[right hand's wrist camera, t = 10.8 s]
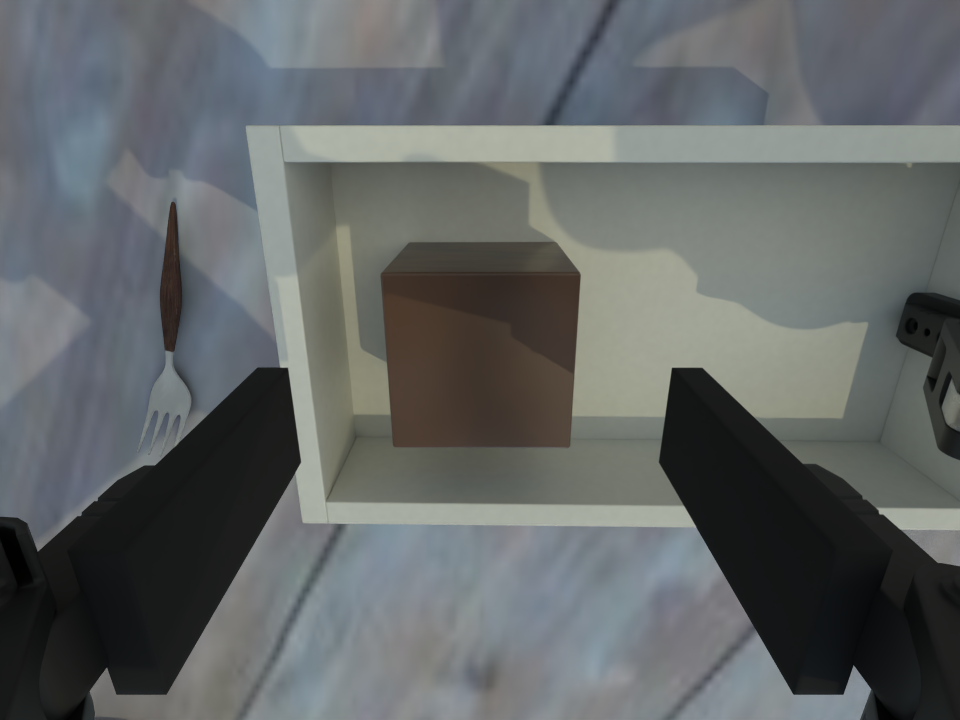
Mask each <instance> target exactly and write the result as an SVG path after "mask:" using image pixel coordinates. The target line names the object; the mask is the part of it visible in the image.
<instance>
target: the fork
mask: <svg viewBox="0 0 960 720" xmlns="http://www.w3.org/2000/svg"><path fill="white" fill-rule="evenodd" d="M181 305H182V288H181V275H180V264H179V249H178V228H177V213H176V205H175V203H174V202H172V203H171V206H170V212H169V220H168V228H167V237H166V247H165V256H164V263H163V271H162V278H161V288H160V307H161V318H162V328H163V336H164V345H165V356H166V364H165V368H164V370H163V372H162V373H161V375H160V376H159V378H158V379H157V380H156V382H155V383H154V385H153V388H152V390H151V394H150V399H149V405H148V411H147V416H146V420H145V424H144V427H143V431H142V435H141V439H140V443H139V446H138V449H137V453H138V452H139V450H140V448H141V445H142V443H143V440H144V438H145V435H146V432H147V430H148V427H149V424H150V422H151V419H152V416H153V414H154V412H155V411H156V410H157V411H158V418H157V423H156V427H155V431H154V434H153V438H152V442H151V446H150V449H149V453H148V455H150V453H151V450H152V448H153V445H154V443H155V440H156V438H157V435H158V432H159V430H160V427H161V424H162V421H163V419H164V416H165V414H166V413H169V421H168V426H167V430H166V434H165V437H164V441H163V445H162V449H161V453H160V456H159V457H161V456H162V453H163V451H164V448H165V446H166V443H167V440H168V438H169V435H170V432H171V430H172V427H173V424H174V421H175V419H176V417H177V416H178V415H180V424H179V428H178V432H177V436H176V440H175V444H174V447H175V446H176V445H177V444H178V443H179V440H180V438H181V435H182V432H183V429H184V426H185V423H186V420H187V417H188V414H189V411H190V408H191V395H190V392H189V390H188V388H187V386H186V385H185V383H184V382H183V381H182V379H181V378H180V377H179V375H178V374H177V372H176V370H175V368H174V365H173V357H174V350H175V344H176V338H177V332H178V326H179V320H180V314H181Z"/></svg>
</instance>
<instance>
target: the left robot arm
mask: <svg viewBox="0 0 960 720" xmlns="http://www.w3.org/2000/svg"><path fill="white" fill-rule="evenodd" d="M896 337H897V338H898V340H899V341H900V343H901V344H903V345H905V346H907V347H910V348H912V349H914V350H916V351H918V352H921V353H923V354H925V355H927V356H930V357H932V361H931V364H930V367H929V370H928V373H927V376H926V379H925V382H924V385H923V391H924V395H925V399H926V403H927V407H928V411H929V415H930V419H931V423H932V427H933V431H934V436H935V440H936V444H937V447H938V449H939V450H940V451H941V452H943V453H944V454H946V455H948V456H950V457H952V458H955V459H957V460H960V300H957V299H954V298H951V297H948V296H944V295H941V294H938V293H934V292H916V293H912V294H911V295H910V296H909V297H908V298H907V301H906V303H905V306H904V309H903V313H902V316H901V320H900V323H899V326H898V330H897V333H896Z"/></svg>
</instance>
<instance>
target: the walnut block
mask: <svg viewBox="0 0 960 720" xmlns="http://www.w3.org/2000/svg"><path fill="white" fill-rule="evenodd" d="M380 276H381V290H382V303H383V317H384V330H385V344H386V358H387V371H388V385H389V399H390V412H391V426H392V440H393V446H394V447H395V448H569V447H570V439H571V423H572V407H573V392H574V376H575V360H576V344H577V328H578V313H579V297H580V281H581V274H580V272H579V271H578V269H577V268H576V267H575V265H574V264H573V263H572V262H571V260H570V259H569V258H568V256H567V255H566V254H565V252H564V251H563V250H562V249H561V247H560V246H559V245H558V243H557V242H410V243H408V244H407V245H406V246H405V247H404V249H403V250H402V251H401V252H400V253H399V254H398V255H397V256H396V257H395V258H394V260H393V261H392V262H391V263H390V264H389V265H388V266H387V267H386V268H385V269H384V271H383V272H382V273H381V275H380Z"/></svg>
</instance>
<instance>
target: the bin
mask: <svg viewBox="0 0 960 720" xmlns="http://www.w3.org/2000/svg"><path fill="white" fill-rule="evenodd" d="M246 134H247V141H248V148H249V155H250V162H251V169H252V176H253V183H254V190H255V197H256V204H257V211H258V218H259V224H260V231H261V238H262V245H263V252H264V259H265V266H266V273H267V280H268V287H269V294H270V301H271V308H272V314H273V321H274V328H275V335H276V342H277V349H278V356H279V363H280V368H288V370H289V378H290V385H291V392H292V399H293V406H294V414H295V421H296V428H297V435H298V442H299V449H300V457H301V464H300V465H299V467H298V469H297V471H296V472H295V474H296V481H297V488H298V494H299V501H300V508H301V515H302V522H303V523H337V524H431V525H526V526H620V527H696V526H695V524H694V522H693V521H692V519H691V517H690V515H689V514H688V512H687V510H686V509H685V507H684V505H683V503H682V502H681V500H680V498H679V496H678V495H677V493H676V491H675V490H674V488H673V486H672V484H671V483H670V481H669V479H668V478H667V476H666V474H665V472H664V471H663V469H662V467H661V465H660V464H659V457H660V449H661V442H662V435H663V428H664V421H665V413H666V406H667V399H668V392H669V385H670V378H671V370H672V368H703V369H704V370H705V371H706V372H707V373H709V374H710V375H711V376H712V377H713V378H714V379H715V380H716V381H717V382H718V383H719V384H720V385H721V386H722V387H723V388H724V389H725V390H726V391H727V392H728V393H729V394H730V395H731V396H733V397H734V398H735V399H736V400H737V401H738V402H739V403H740V404H741V405H742V406H743V407H744V408H745V409H746V410H747V411H748V412H749V413H750V414H751V415H752V416H753V417H754V418H756V419H757V420H758V421H759V422H760V423H761V424H762V425H763V426H764V427H765V428H766V429H767V430H768V431H769V432H770V433H771V434H772V435H773V436H774V437H775V438H776V439H777V440H779V441H780V442H781V443H782V444H783V445H784V446H785V447H786V448H787V449H788V450H789V451H790V452H791V453H792V454H793V455H794V456H795V457H796V458H797V459H798V460H799V461H800V462H802V463H803V464H817V465H819V466H821V467H823V468H825V469H826V470H828V471H830V472H832V473H834V474H836V475H837V476H839V477H841V478H843V479H844V480H845V481H846V482H847V483H849V484H850V485H851V486H852V487H853V488H854V489H855V490H856V491H858V492H859V493H860V494H861V495H862V498H863V499H866V500H868V501H869V502H870V503H871V504H872V505H873V506H874V507H875V508H877V509H878V510H879V514H883V515H884V516H886V517H887V518H888V519H889V520H890V521H891V522H892V523H893V524H895V525H896V526H897V527H898V528H899V529H903V530H960V460H957V459H955V458H952V457H950V456H948V455H946V454H944V453H943V452H941V451H940V450H939V449H938V447H937V444H936V440H935V436H934V431H933V427H932V423H931V419H930V415H929V411H928V407H927V403H926V399H925V395H924V391H923V385H924V382H925V379H926V376H927V373H928V370H929V367H930V364H931V361H932V357H930V356H927V355H925V354H923V353H921V352H918V351H916V350H914V349H912V348H910V347H907V346H905V345H903V344H901V343H900V341H899V340H898V338H897V337H896V333H897V330H898V326H899V323H900V320H901V316H902V313H903V309H904V306H905V303H906V301H907V298H908V297H909V296H910V295H911V294H912V293H916V292H934V293H938V294H941V295H944V296H948V297H951V298H954V299H957V300H960V125H281V126H278V125H247V126H246ZM410 242H557V243H558V245H559V246H560V247H561V249H562V250H563V251H564V252H565V254H566V255H567V256H568V258H569V259H570V260H571V262H572V263H573V264H574V265H575V267H576V268H577V269H578V271H579V272H580V274H581V281H580V297H579V313H578V328H577V344H576V360H575V376H574V392H573V407H572V423H571V439H570V447H569V448H395V447H394V446H393V440H392V426H391V412H390V399H389V385H388V371H387V358H386V344H385V330H384V317H383V303H382V290H381V276H380V275H381V273H382V272H383V271H384V269H385V268H386V267H387V266H388V265H389V264H390V263H391V262H392V261H393V260H394V258H395V257H396V256H397V255H398V254H399V253H400V252H401V251H402V250H403V249H404V247H405V246H406V245H407V244H408V243H410Z"/></svg>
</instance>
